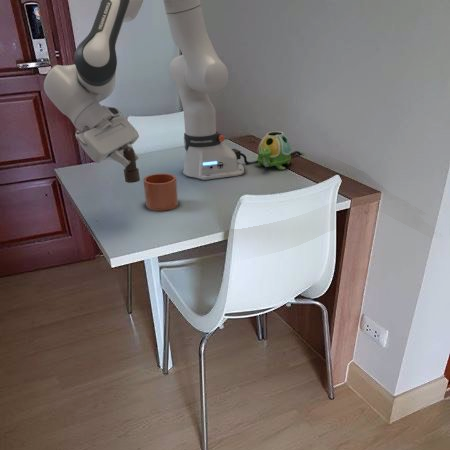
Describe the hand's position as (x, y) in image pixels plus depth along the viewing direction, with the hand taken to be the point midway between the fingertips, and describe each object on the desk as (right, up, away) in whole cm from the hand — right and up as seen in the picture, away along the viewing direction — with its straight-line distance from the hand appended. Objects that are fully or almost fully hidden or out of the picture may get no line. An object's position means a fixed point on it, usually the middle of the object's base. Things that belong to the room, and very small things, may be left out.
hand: (132, 162), depth 131 cm
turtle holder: (+43, +13, +54) cm, 70 cm away
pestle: (-1, -4, +3) cm, 5 cm away
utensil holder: (+5, -7, +23) cm, 24 cm away
